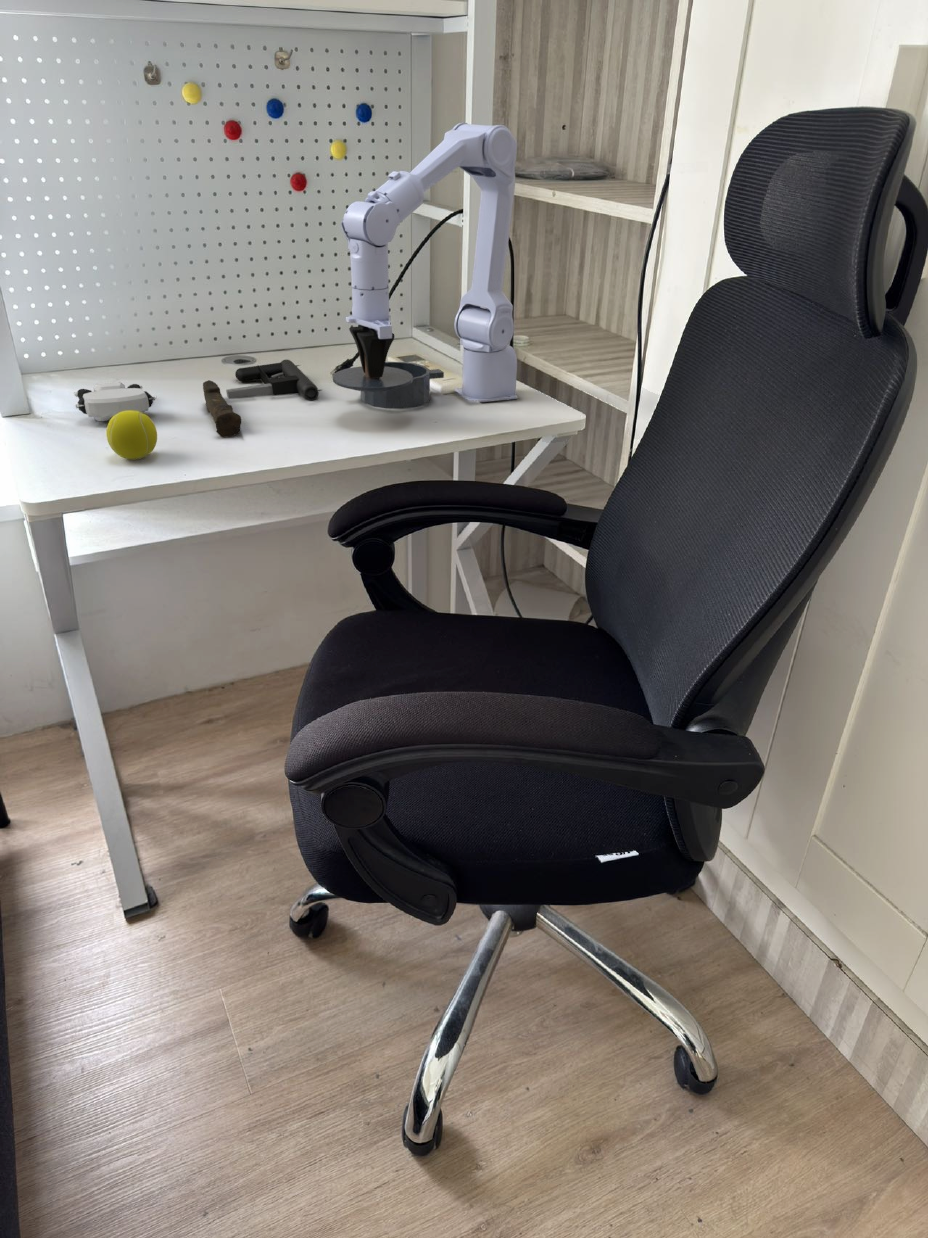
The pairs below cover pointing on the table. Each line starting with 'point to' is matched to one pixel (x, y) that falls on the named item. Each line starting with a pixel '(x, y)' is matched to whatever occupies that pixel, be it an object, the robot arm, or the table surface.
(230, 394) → the toy submachine gun
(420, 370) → the pot
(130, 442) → the tennis ball
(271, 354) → the table surface
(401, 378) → the pot lid
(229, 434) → the brown rough rod
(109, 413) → the robot toy
